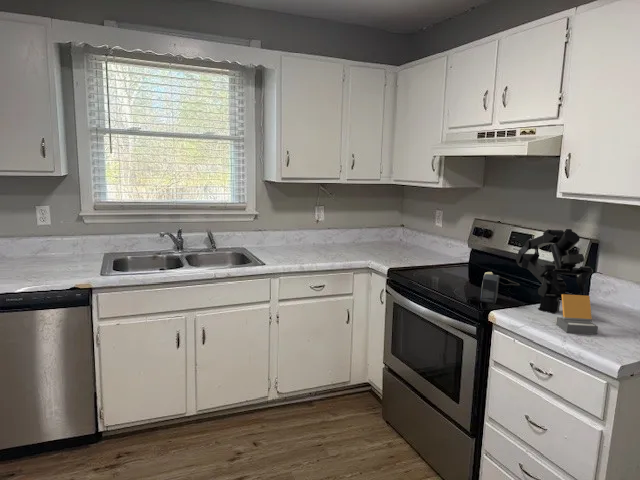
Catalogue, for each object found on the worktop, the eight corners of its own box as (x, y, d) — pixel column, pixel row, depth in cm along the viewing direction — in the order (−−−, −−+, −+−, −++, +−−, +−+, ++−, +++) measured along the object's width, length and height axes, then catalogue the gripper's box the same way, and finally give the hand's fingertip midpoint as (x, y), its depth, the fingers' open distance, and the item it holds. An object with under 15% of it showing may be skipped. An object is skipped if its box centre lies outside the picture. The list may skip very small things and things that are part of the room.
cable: (512, 279, 245) (513, 273, 245) (521, 287, 229) (522, 281, 229) (482, 276, 247) (483, 270, 247) (489, 285, 231) (490, 278, 231)
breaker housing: (556, 324, 176) (557, 316, 175) (584, 326, 176) (586, 318, 175) (566, 332, 168) (567, 324, 167) (596, 334, 168) (598, 326, 167)
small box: (482, 295, 211) (484, 273, 209) (497, 297, 208) (500, 275, 206) (479, 301, 201) (482, 278, 199) (495, 303, 199) (498, 280, 197)
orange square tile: (562, 320, 171) (560, 294, 174) (590, 321, 171) (588, 296, 174) (564, 319, 170) (562, 294, 173) (592, 321, 170) (590, 295, 173)
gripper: (546, 244, 179) (556, 279, 170) (594, 247, 179) (606, 282, 170) (534, 259, 188) (543, 293, 180) (580, 261, 188) (590, 295, 180)
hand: (571, 291), depth 177 cm, fingers open, 9 cm apart
